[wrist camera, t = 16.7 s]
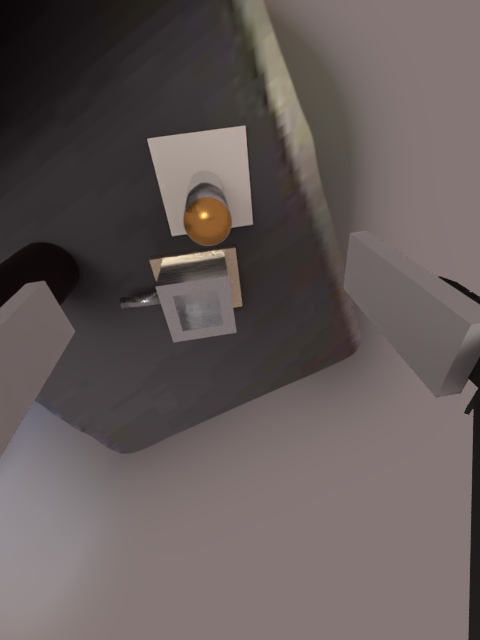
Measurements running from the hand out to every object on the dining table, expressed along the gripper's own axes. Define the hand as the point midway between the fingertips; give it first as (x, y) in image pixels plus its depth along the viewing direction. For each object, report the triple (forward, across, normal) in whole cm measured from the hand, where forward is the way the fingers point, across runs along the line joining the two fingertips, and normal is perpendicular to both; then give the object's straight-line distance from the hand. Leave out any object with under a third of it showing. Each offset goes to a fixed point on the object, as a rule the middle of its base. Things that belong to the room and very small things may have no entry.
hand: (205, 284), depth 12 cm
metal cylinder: (+23, 0, 0) cm, 23 cm away
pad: (+24, 0, 0) cm, 24 cm away
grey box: (+24, -5, -12) cm, 27 cm away
